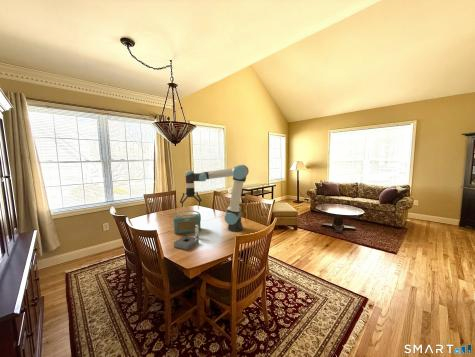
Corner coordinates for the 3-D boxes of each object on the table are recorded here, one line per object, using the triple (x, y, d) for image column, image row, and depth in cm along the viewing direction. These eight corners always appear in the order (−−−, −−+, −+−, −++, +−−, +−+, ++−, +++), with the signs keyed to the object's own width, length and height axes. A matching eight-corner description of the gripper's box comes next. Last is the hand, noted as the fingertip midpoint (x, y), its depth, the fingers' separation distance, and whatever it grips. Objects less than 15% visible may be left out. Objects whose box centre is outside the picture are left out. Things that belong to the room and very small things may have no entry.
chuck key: (200, 237, 179) (200, 224, 178) (196, 239, 174) (195, 226, 172) (197, 236, 180) (197, 223, 179) (193, 239, 175) (193, 225, 174)
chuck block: (198, 243, 166) (198, 238, 166) (187, 250, 154) (187, 245, 153) (185, 240, 173) (185, 235, 172) (174, 246, 160) (173, 242, 160)
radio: (173, 234, 187) (172, 213, 184) (174, 230, 197) (173, 210, 195) (201, 231, 192) (200, 211, 189) (201, 227, 202) (200, 208, 200)
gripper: (203, 186, 194) (204, 207, 197) (176, 187, 189) (177, 209, 191) (203, 187, 187) (204, 209, 189) (176, 188, 182) (177, 211, 184)
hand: (191, 209), depth 190 cm, fingers open, 13 cm apart
